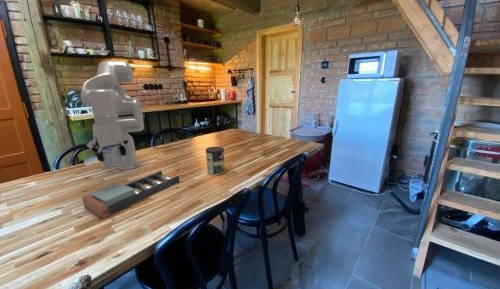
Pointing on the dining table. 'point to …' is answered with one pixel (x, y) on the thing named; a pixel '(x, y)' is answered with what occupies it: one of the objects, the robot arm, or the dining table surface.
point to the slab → (114, 194)
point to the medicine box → (111, 155)
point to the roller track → (104, 210)
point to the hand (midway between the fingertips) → (112, 158)
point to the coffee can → (215, 160)
